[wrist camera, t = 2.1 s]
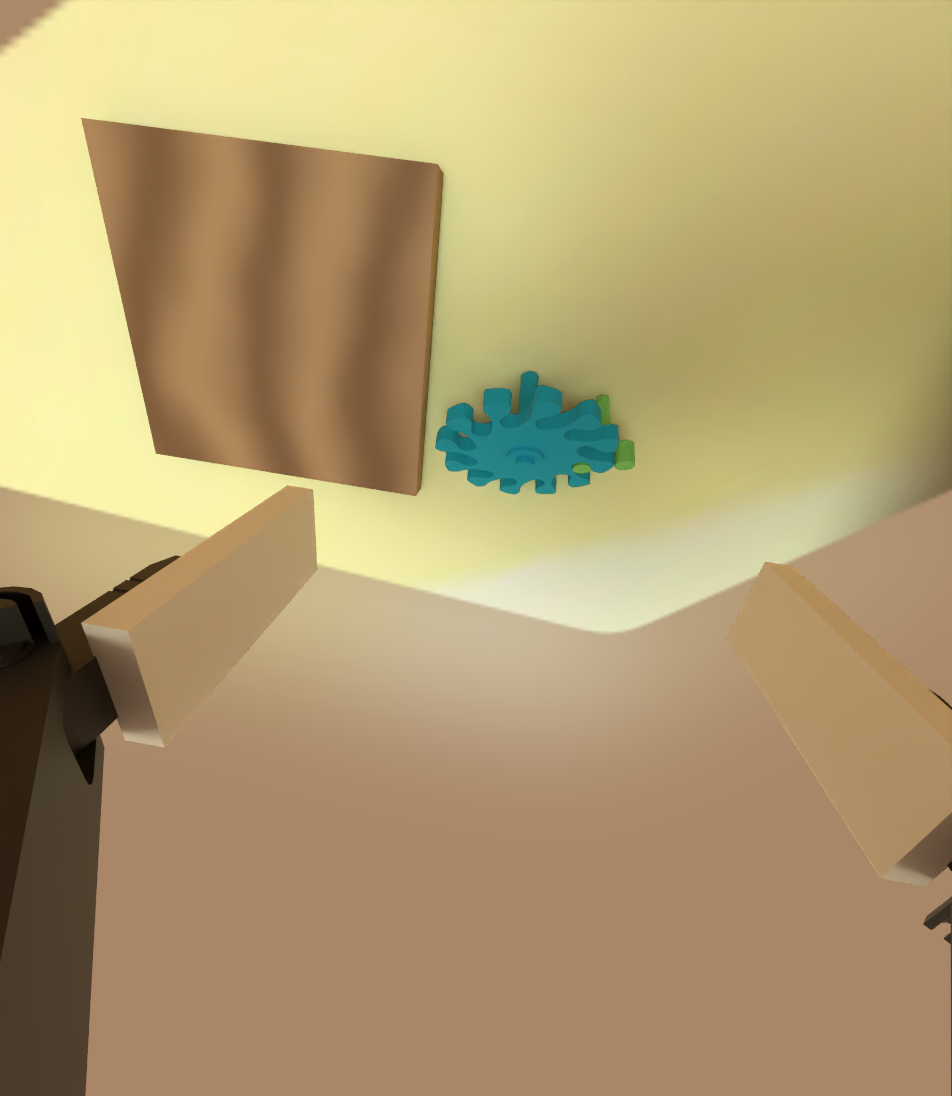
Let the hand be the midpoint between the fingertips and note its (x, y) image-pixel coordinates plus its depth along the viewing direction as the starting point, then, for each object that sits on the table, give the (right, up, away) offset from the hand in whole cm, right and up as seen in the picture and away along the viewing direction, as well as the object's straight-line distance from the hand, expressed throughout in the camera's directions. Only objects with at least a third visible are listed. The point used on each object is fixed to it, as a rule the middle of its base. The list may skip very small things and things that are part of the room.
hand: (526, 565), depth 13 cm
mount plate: (-13, +14, +13) cm, 23 cm away
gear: (+2, +8, +15) cm, 17 cm away
